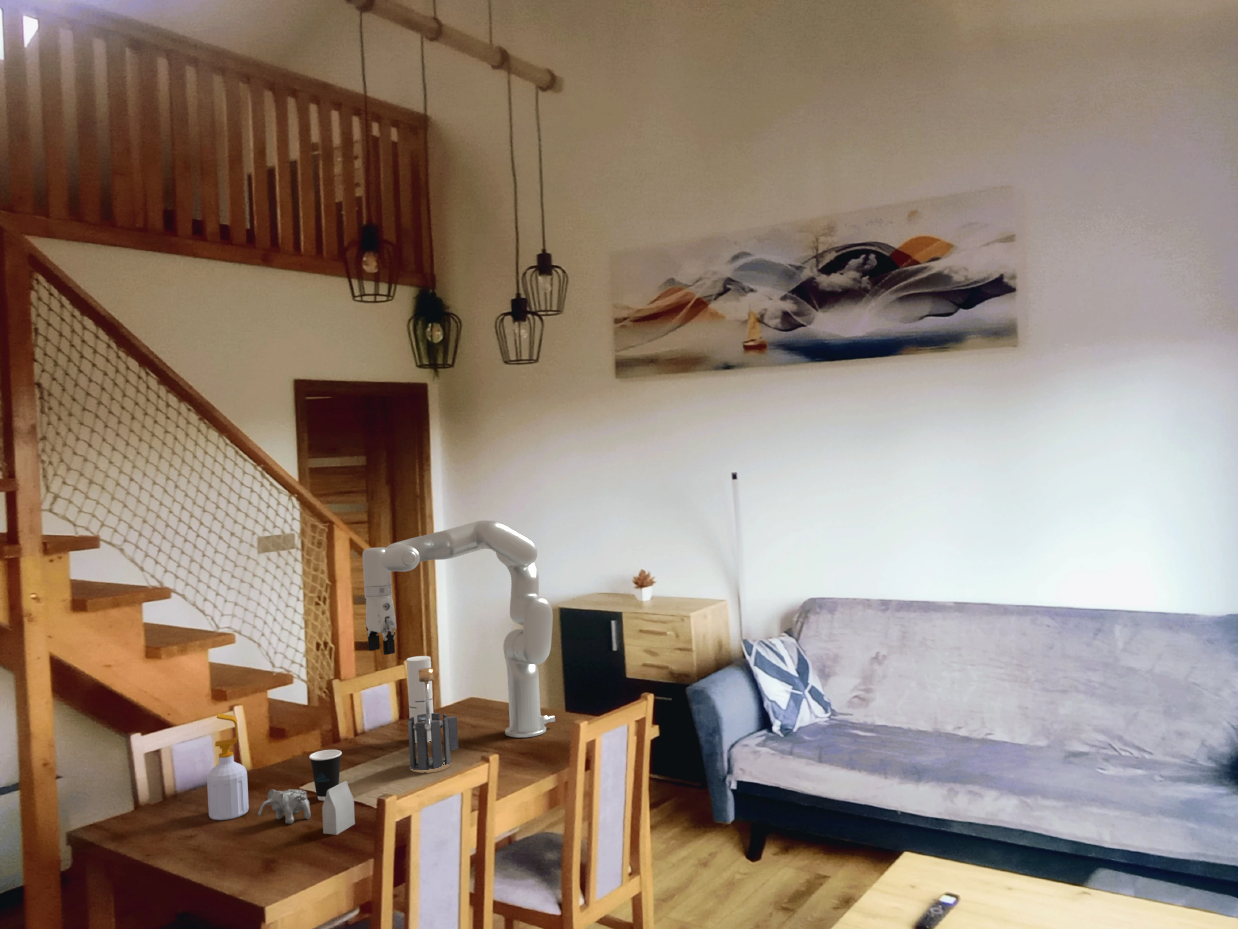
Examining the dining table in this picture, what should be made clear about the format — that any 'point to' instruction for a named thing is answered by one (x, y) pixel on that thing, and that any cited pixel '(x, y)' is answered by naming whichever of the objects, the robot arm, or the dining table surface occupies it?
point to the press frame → (432, 741)
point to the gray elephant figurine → (287, 803)
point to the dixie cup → (325, 770)
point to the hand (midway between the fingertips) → (381, 651)
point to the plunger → (427, 696)
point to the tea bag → (338, 809)
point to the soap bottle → (227, 782)
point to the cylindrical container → (418, 689)
